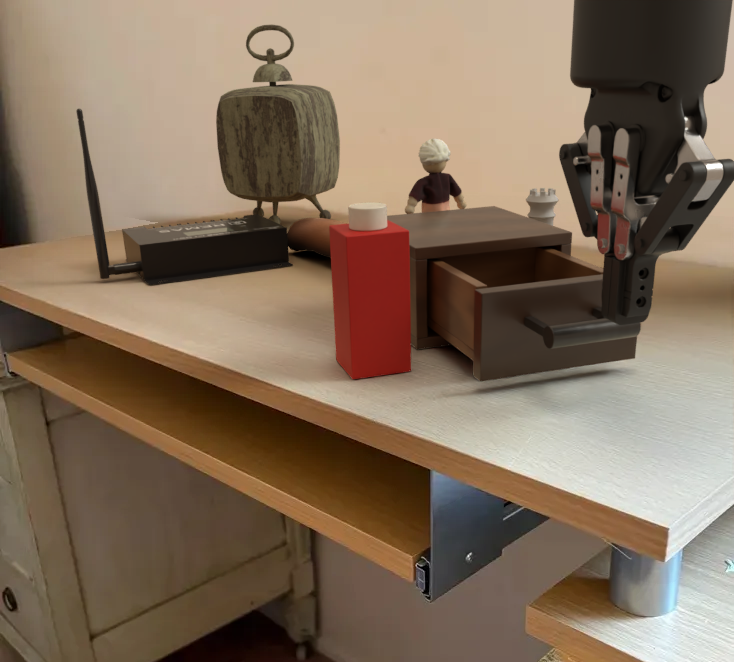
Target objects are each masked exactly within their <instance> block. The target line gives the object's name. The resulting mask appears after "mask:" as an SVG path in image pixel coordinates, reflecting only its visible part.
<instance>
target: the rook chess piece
mask: <svg viewBox="0 0 734 662" xmlns="http://www.w3.org/2000/svg"><path fill="white" fill-rule="evenodd" d="M559 201H560V199H559V197H558V196H557V195H556V189H555V188H551V187H548V188H547V191H546V187H540V188H539V191H538V188H537V187H536V188H531V189H529V194H528V195H527V197H526V198H525V202H526V204H527V205H528V207H529V212H528V214H526V215H527V216H526V217H528V218H531V219H534V220H537V221H540V222H543V223H546V224H549V225H552V226H554V221H555V220H554V219H555V217H556V216H557V215H556V212H555V211H554V210H555V207H556V205H557V203H558V202H559Z"/></svg>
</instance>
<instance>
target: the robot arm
mask: <svg viewBox="0 0 734 662" xmlns="http://www.w3.org/2000/svg"><path fill="white" fill-rule="evenodd" d="M733 1H734V0H573V10H572V11H573V12H572V13H573V14H572V31H571V33H572V34H571V49H570V50H571V51H570V69H569V71H570V72H569V77H570V82H571V83H572V84H573V86H575V87H577V88H581V89H590V94H589V99H588V104H587V107H586V110H585V112H584V116H583V130H584V132H583V133H582V135H581V136H580V137H579V139H578V140H577V142H573V143H572V142H571V143H563V144H562V145H561V146H560V148H559V151H558V152H559V153H558V158H559V162H560V165H561V169H562V173H563V175H564V179H565V181H566V185H567V189H568V191H569V193H570V194H569V195H570V198H571V201H572V204H573V207H574V210H575V214H576V217H577V220H578V224H579V227H580V230H581V233H582V236H584V237H585V238H595V239H596V246H597V250H598V252H599V253H600V254H601V255H603V267H602V268H603V281H602V287H603V288H602V295H601V299H602V307H601V314H602V316H603V317H604V318H606V319H608V320H610V321H612V322H614V323H616V324H618V325H627V324H634V323H640V324H642V323H643V322H645V321H647V319H648V317H649V315H650V312H651V309H652V306H653V305H652V304H653V295H654V290H653V289H654V284H655V274H656V265H657V261H658V259H659V257H660V256H662V255H663V254H668V253H672V252H678V251H683V250H685V249H686V248H687V246H688V245H689V244H690V242H691V240H692V239H693V238H694V237H695V235H696V234H697V232H698V231H699V230H700V228H701V227H702V226H703V224H704V223H705V221H706V220H707V219H708V218H709V216H710V214H711V213H712V212H713V211H714V209H715V207H716V206H717V205H718V203H719V202H720V201H721V199H722V198H723V196H724V195H725V194H726V193H727V191H728V190H729V188H730V187H731V185H732V184H733V183H734V160H733V159H732V158H721V159H716V158H715V156H714V154H713V153H712V151H711V150H710V148H709V147H708V145H707V143H706V142H705V140H704V138H705V136H706V134H707V129H708V118H707V114H706V108H705V101H704V97H705V90H706V88H707V87H708V85H713V84H715V83H716V82H718V81H719V80H720V79H722V77H723V75H724V73H725V68H726V59H727V51H728V41H729V35H730V26H731V19H732V18H731V17H732V8H733Z"/></svg>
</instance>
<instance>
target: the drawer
mask: <svg viewBox="0 0 734 662" xmlns="http://www.w3.org/2000/svg"><path fill="white" fill-rule="evenodd" d="M603 268H604V267H601V266H598V265H596V264H593V263H591V262H588V261H586V260H583V259H580V258H578V257H575V256H573V255H571V256H570V255H568V254H565V253H562V252H560V251H557V250H555V249H552V248H549V247H547V246H545V247H535V248H526V249H516V250H507V251H498V252H488V253H479V254H470V255H460V256H451V257H441V258H432V259H427V326H428V327H430V328H431V329H432V330H434V331H435V332H436V333H438V334H439V335H440V336H441V337H443V338H444V339H445V340H447V341H448V342H449V343H451V344H452V345H451V346H453V347H454V348H456V349H457V350H458V351H460V352H461V353H463V354H464V355H465V356H466V357H468V358H469V359H470V360H472V361H473V365H472V367H473V368H472V376H473V377H474V378H476V380H478V381H479V382H487V381H495V380H499V379H501V380H502V379H507V378H515V377H521V376H526V375H533V374H541V373H547V372H553V371H560V370H566V369H572V368H579V367H586V366H593V365H599V364H607V363H613V362H621V361H628V360H634V359H636V353H637V343H638V336H639V335H640V333H641V330H642V323H634V324H627V325H618V324H616V323H614V322H612V321H610V320H608V319H606V318H604V317H603V316H602V314H601V307H602V299H601V295H602V288H603V287H602V281H603Z"/></svg>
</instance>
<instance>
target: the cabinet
mask: <svg viewBox="0 0 734 662" xmlns="http://www.w3.org/2000/svg"><path fill="white" fill-rule="evenodd" d="M387 220H389V221H391V222H393V223H395V224H397V225H399V226H401V227H403V228H405V229H407V230H409V251H410V317H411V347H414V348H415V349H416V350H423V349H424V350H425V349H432V348H439V347H445V346H453V345H452V344H451V343H449V342H448V341H447V340H445V339H444V338H443V337H441V336H440V335H439V334H438V333H436V332H435V331H434V330H432V329H431V328H430V327H428V326H427V259H432V258H441V257H451V256H460V255H470V254H479V253H488V252H498V251H507V250H516V249H526V248H535V247H545V246H547V247H549V248H552V249H555V250H557V251H560V252H562V253H565V254H568V255H570V256H572V243H573V242H572V241H573V232H572V231H569V230H567V229H564V228H561V227H558V226H556V225H555V226H554V225H553V226H552V225H549V224H546V223H543V222H540V221H537V220H534V219H531V218H529V217H528V216H526V215H522V214H519V213H516V212H514V211H510V210H507V209H505V208H502V207H498V206H495V205H491V206H479V207H467V208H464V209H459V208H457V209H450V210H445V211H434V212H423V213H422V212H414V213H412V214H406V213H403V214H392V215H391V214H390V215H387Z"/></svg>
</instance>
